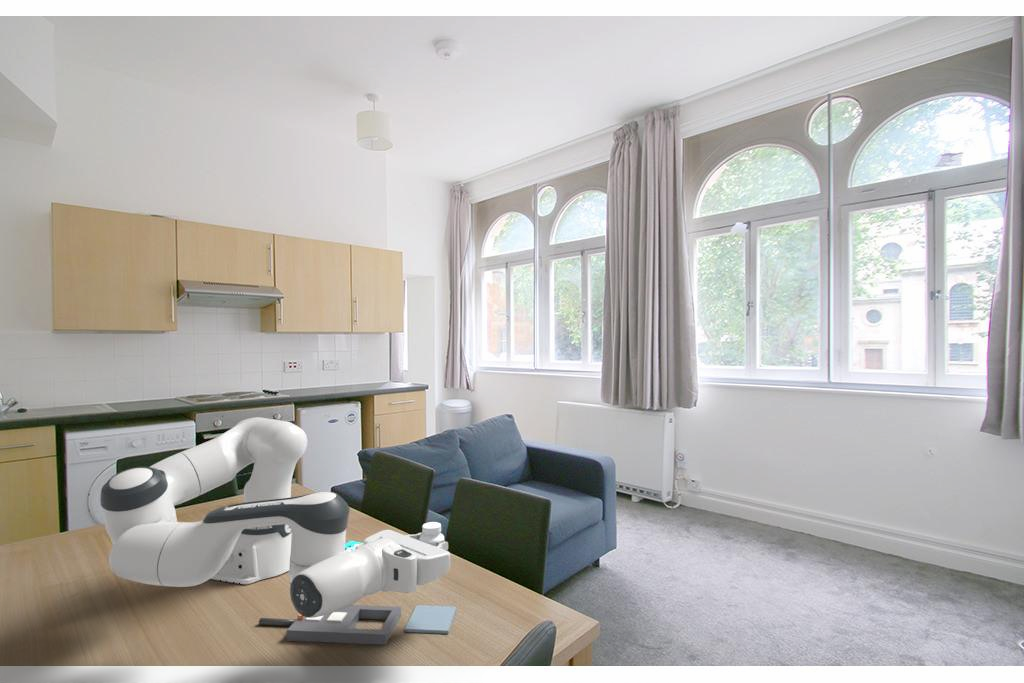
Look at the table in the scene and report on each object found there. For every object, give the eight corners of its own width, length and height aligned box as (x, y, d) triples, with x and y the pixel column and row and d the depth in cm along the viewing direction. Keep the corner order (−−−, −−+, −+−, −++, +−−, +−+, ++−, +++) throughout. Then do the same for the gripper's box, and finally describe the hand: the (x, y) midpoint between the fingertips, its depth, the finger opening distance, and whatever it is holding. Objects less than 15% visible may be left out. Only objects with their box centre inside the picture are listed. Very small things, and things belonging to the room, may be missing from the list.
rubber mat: (404, 631, 98) (404, 628, 98) (416, 607, 107) (416, 605, 107) (448, 633, 98) (448, 630, 98) (456, 609, 107) (456, 606, 107)
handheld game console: (351, 544, 143) (351, 539, 143) (396, 553, 137) (396, 548, 137) (326, 558, 134) (326, 553, 134) (374, 568, 128) (374, 562, 128)
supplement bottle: (448, 567, 104) (449, 522, 104) (436, 579, 99) (437, 531, 99) (426, 564, 106) (426, 519, 106) (413, 575, 101) (413, 528, 101)
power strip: (245, 638, 96) (245, 624, 96) (273, 611, 106) (273, 598, 106) (385, 644, 94) (385, 630, 94) (400, 616, 104) (401, 603, 104)
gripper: (349, 564, 99) (403, 543, 110) (415, 596, 86) (469, 568, 97) (349, 533, 99) (403, 515, 110) (416, 561, 86) (469, 537, 97)
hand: (434, 540), depth 103 cm, fingers closed on supplement bottle, 5 cm apart
